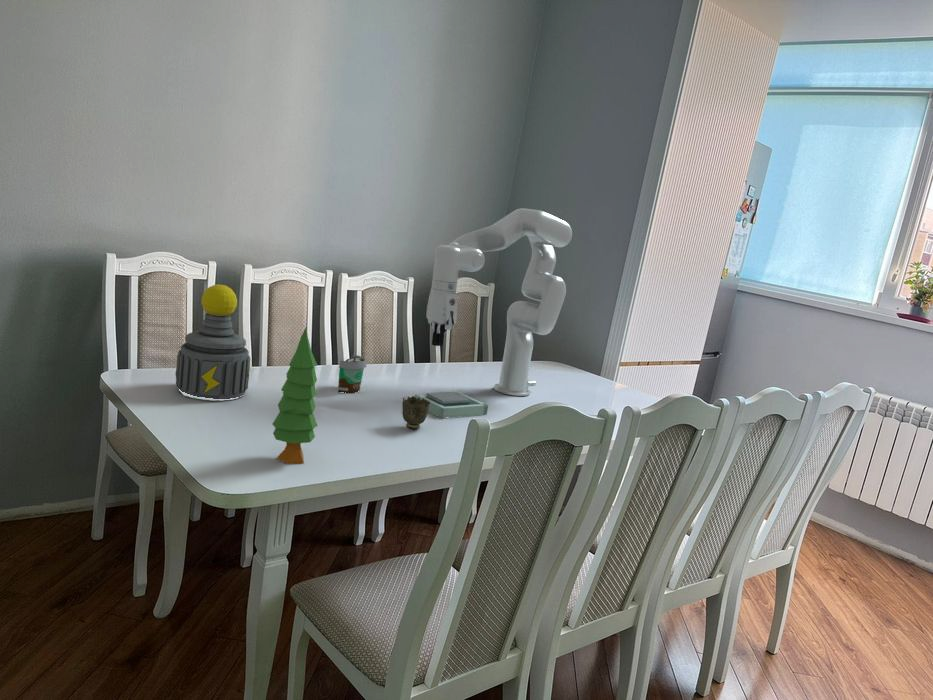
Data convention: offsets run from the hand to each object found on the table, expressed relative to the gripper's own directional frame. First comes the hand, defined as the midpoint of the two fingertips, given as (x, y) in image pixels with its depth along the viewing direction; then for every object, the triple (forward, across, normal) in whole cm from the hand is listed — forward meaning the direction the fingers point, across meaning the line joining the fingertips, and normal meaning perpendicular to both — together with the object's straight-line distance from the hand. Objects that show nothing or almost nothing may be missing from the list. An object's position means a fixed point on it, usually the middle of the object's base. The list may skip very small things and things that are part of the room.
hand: (437, 345), depth 227 cm
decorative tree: (+15, -35, +65) cm, 76 cm away
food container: (+17, +12, +21) cm, 29 cm away
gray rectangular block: (+17, -11, +3) cm, 21 cm away
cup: (+16, -24, +24) cm, 38 cm away
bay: (+17, -11, +1) cm, 20 cm away
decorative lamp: (+15, +17, +63) cm, 67 cm away
